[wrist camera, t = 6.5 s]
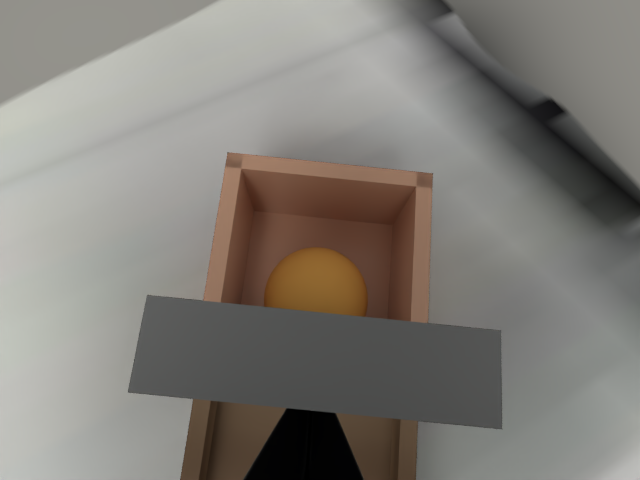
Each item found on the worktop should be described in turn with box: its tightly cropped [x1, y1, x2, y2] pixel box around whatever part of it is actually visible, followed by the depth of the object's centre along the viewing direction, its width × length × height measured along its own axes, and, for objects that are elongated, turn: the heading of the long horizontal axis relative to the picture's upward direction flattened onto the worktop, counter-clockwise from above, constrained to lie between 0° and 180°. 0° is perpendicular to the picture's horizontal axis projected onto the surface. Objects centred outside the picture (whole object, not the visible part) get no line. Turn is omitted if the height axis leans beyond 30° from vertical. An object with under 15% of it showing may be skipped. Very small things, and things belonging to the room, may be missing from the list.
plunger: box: [128, 295, 502, 429], centre depth 10 cm, size 1×5×9 cm, turn 85°
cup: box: [203, 152, 433, 323], centre depth 16 cm, size 6×6×4 cm
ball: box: [264, 247, 368, 317], centre depth 16 cm, size 4×4×4 cm
